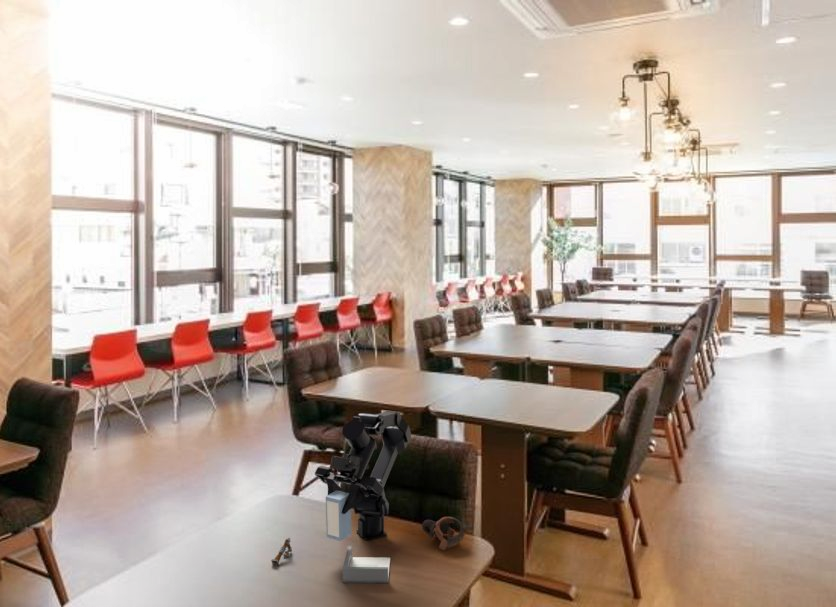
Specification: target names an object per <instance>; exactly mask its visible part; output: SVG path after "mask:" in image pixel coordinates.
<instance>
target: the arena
mask: <svg viewBox="0 0 836 607" xmlns="http://www.w3.org/2000/svg"><path fill="white" fill-rule="evenodd" d="M352 550H353V546H352V545H348V546H347V548H346V552H345V557H344V562H343V565H342V583H344V584H347V583H349V584H354V583H355V584H356V583H357V584H389V575H390V574H389V573H390V565H391V557H373V556H372V557H370V556H369V557H367V556H364V557H362V556H361V557H360V556H359V557H358V556H353V551H352Z"/></svg>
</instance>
